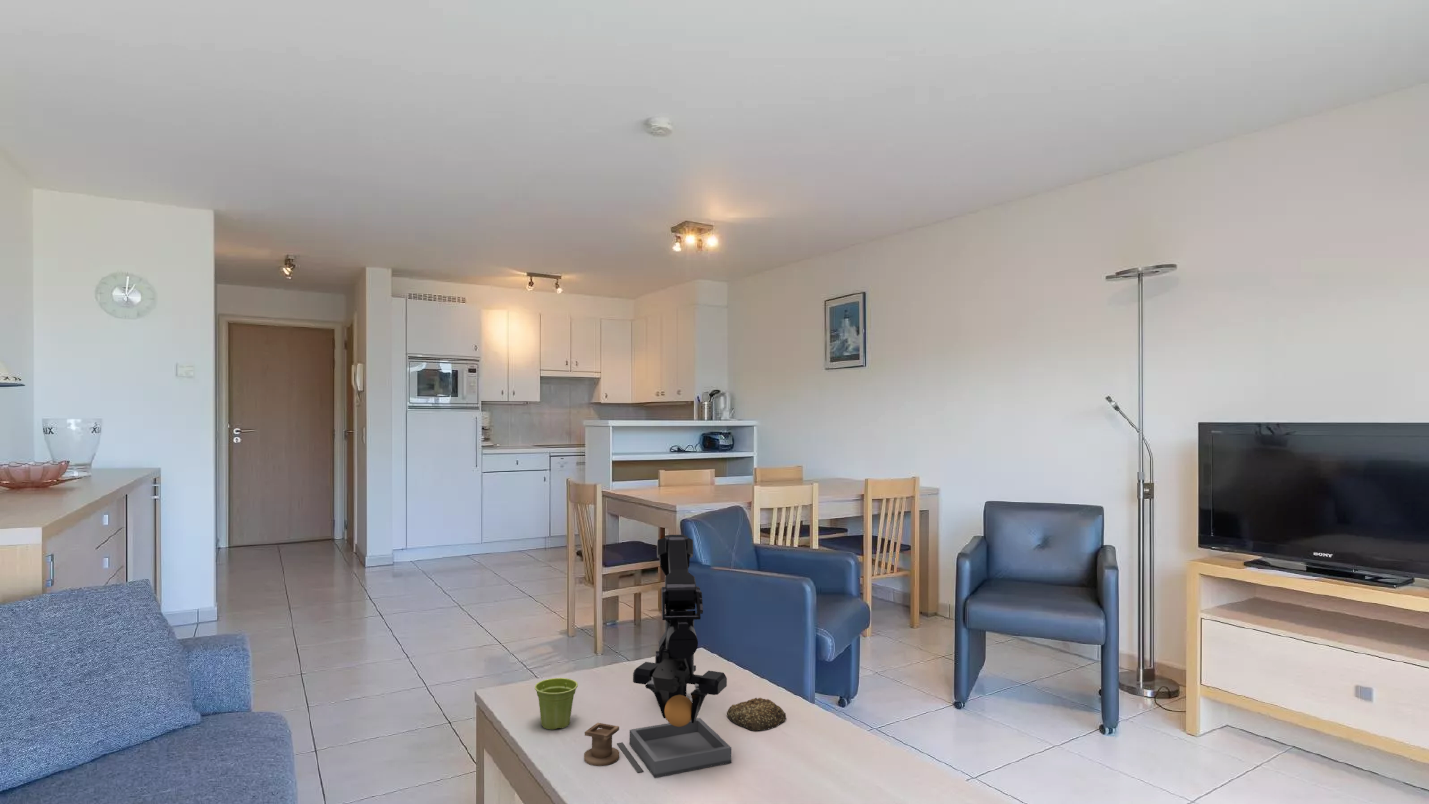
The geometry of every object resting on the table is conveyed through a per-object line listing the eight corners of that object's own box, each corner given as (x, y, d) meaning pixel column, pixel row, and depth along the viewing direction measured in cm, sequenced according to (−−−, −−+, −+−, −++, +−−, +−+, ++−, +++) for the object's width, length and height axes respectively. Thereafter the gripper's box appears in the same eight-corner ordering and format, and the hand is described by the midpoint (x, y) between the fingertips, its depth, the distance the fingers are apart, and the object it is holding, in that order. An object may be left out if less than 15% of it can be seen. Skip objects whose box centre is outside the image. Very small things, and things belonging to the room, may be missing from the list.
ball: (689, 697, 158) (681, 684, 154) (702, 720, 154) (694, 706, 150) (664, 714, 157) (655, 701, 153) (677, 737, 152) (668, 724, 149)
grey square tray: (700, 732, 164) (700, 718, 164) (731, 762, 149) (731, 747, 149) (629, 744, 157) (629, 729, 157) (654, 777, 143) (654, 761, 143)
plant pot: (585, 719, 170) (585, 680, 170) (563, 736, 161) (564, 695, 161) (548, 713, 173) (549, 675, 173) (525, 729, 164) (526, 689, 164)
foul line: (622, 743, 158) (622, 742, 158) (643, 772, 145) (643, 771, 145) (616, 744, 157) (616, 743, 157) (637, 773, 144) (637, 772, 144)
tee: (595, 748, 155) (595, 720, 155) (625, 753, 153) (625, 725, 153) (577, 762, 149) (577, 733, 149) (608, 768, 146) (608, 738, 146)
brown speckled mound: (750, 736, 163) (750, 712, 163) (719, 716, 173) (719, 694, 173) (797, 723, 170) (797, 701, 170) (764, 705, 180) (764, 684, 180)
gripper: (620, 648, 150) (619, 728, 149) (707, 660, 143) (707, 743, 143) (645, 633, 160) (644, 708, 160) (728, 644, 153) (727, 721, 153)
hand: (679, 720), depth 153 cm, fingers closed on ball, 6 cm apart
